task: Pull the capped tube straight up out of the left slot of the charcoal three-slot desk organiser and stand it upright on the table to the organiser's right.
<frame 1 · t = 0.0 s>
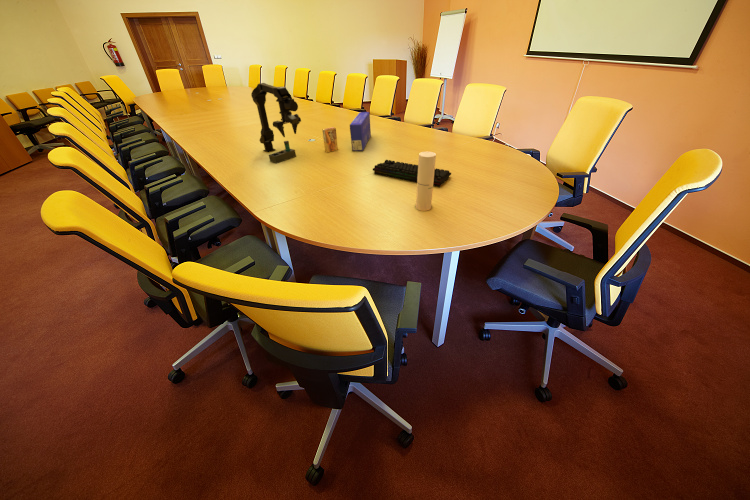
hand: (289, 135, 191), 15 cm above the table, tool pointing down, fingers open, 9 cm apart
cylindrical container: (423, 207, 136), on the table
candy box: (331, 150, 209), on the table
keyboard: (410, 176, 167), on the table
capped tube: (289, 156, 201), resting in organiser
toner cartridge: (361, 143, 221), on the table
organiser: (283, 158, 198), on the table
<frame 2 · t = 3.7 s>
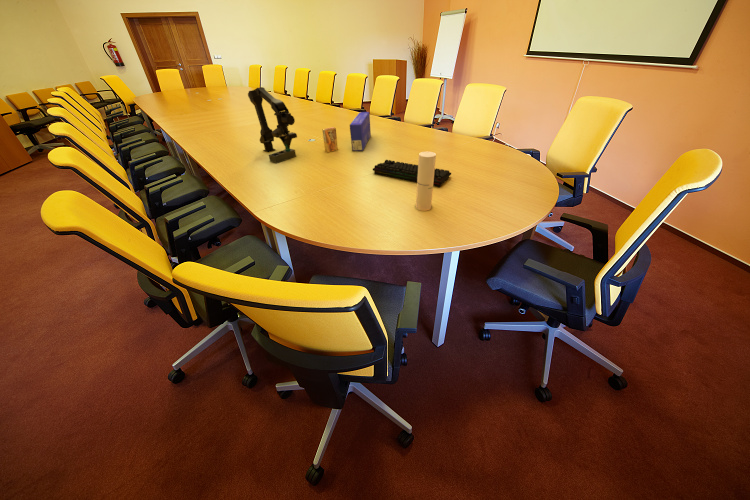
hand: (287, 147, 197), 7 cm above the table, tool pointing down, fingers closed on capped tube, 3 cm apart
capped tube: (289, 156, 201), resting in organiser, touching gripper
everything else where it was.
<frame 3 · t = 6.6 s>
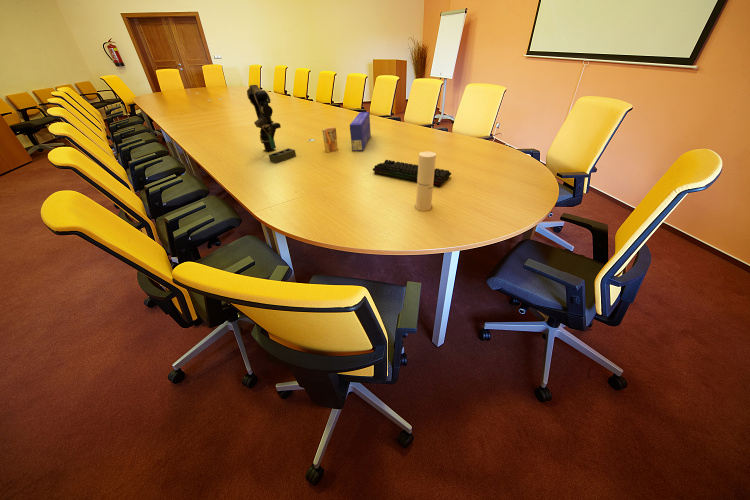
hand: (271, 138, 193), 13 cm above the table, tool pointing down, fingers closed on capped tube, 3 cm apart
capped tube: (273, 148, 197), point 7 cm above the table, touching gripper
everything else where it was.
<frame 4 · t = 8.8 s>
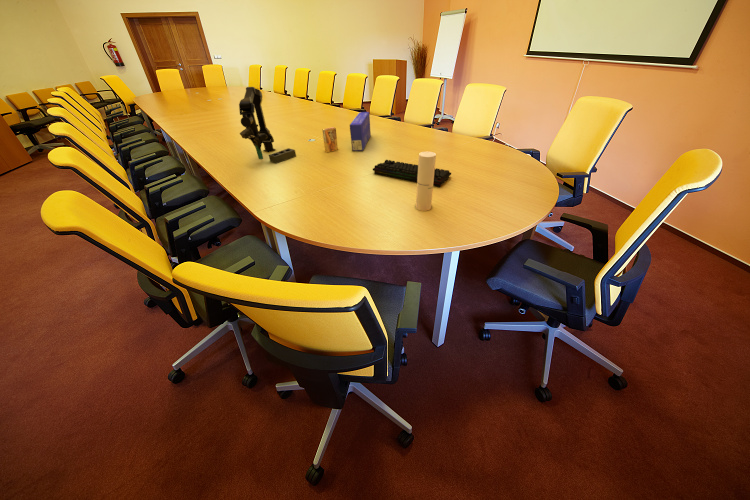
hand: (258, 148, 187), 9 cm above the table, tool pointing down, fingers closed on capped tube, 3 cm apart
capped tube: (261, 158, 191), point 3 cm above the table, touching gripper
everything else where it was.
when the fingers open (6 cm above the table, at t = 9.9 s): capped tube stays where it is, on the table.
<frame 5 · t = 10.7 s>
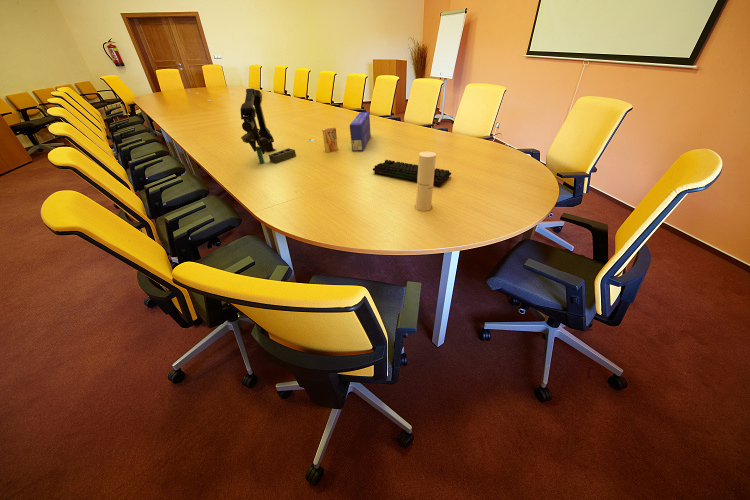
hand: (259, 152, 189), 7 cm above the table, tool pointing down, fingers open, 9 cm apart
capped tube: (262, 162, 193), on the table
everything else where it was.
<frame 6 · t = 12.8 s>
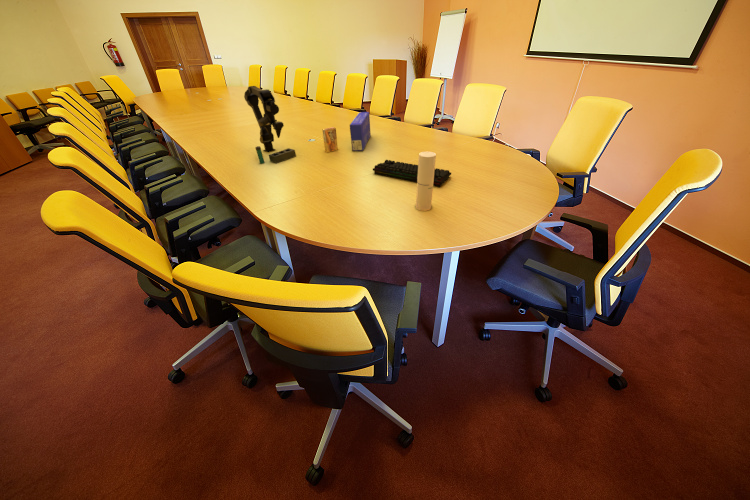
hand: (274, 136, 196), 13 cm above the table, tool pointing down, fingers open, 9 cm apart
nothing on the table moved.
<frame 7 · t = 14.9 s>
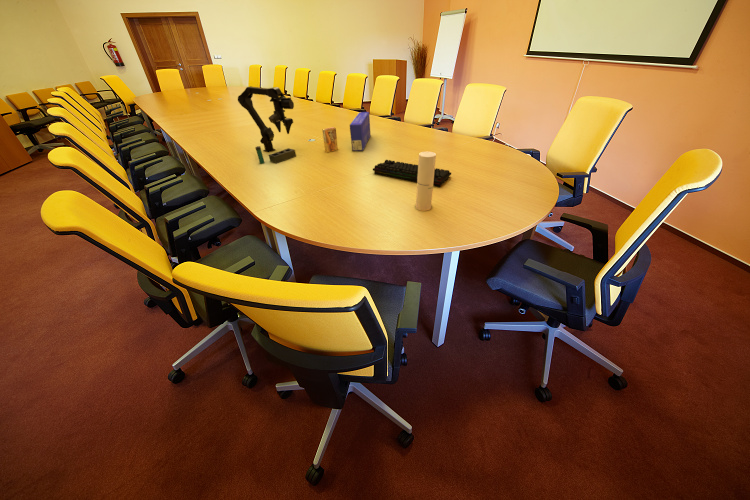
hand: (284, 133, 203), 13 cm above the table, tool pointing down, fingers open, 9 cm apart
nothing on the table moved.
at the end: capped tube inside the target area (0.5 cm from its centre), on the table; capped tube tilted 0°; the gripper is holding nothing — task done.
